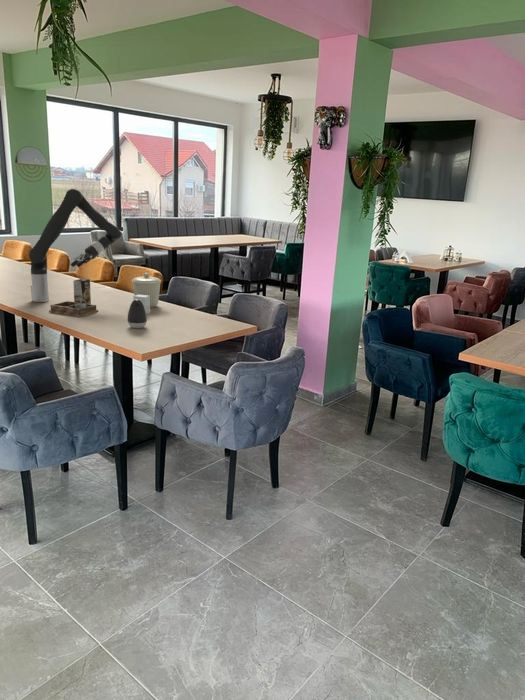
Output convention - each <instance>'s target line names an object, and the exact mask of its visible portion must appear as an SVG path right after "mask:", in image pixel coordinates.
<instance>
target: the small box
mask: <svg viewBox="0 0 525 700" xmlns="http://www.w3.org/2000/svg"><path fill="white" fill-rule="evenodd" d="M136 299H138V300H140V301H141V302H142V303H143V305H144V307H145V311H146V315H149V314H151V308H150V296H148V295H139V294H138V295H135V296H134V295H133V300H136ZM133 300H132V301H133Z"/></svg>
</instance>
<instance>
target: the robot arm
mask: <svg viewBox="0 0 525 700" xmlns="http://www.w3.org/2000/svg"><path fill="white" fill-rule="evenodd" d="M75 208H78V209H80V211H82V212H83V213H84V214H85V215H86V216H87V217H88V218H89V220H90V221H91V222H93V224H94V225H95V226H96V227H97V228H99V229H100V230H101V231H105V232H106V233H105V234H103V235H102V236H101V237H100V238H98V239H97V240H96V241H94V242H93V243H91V244H90V245H89V246H87V247H86V248H84V252H85V253H81V254H79V255H78V256H77V257H75V258H74V260H73V262H71V263H70V266H71V267H72V268H74V267H77V268H81V267H82V266H83V265H84V264H87V263H89V262H90V261H91V260H94V259H96V258H97V257H98V256H99V255H101V254H102V253H103V252H104V251H105V250H107V248H109V246H111V245H112V244H114V243H115V242H116V241H117V240H119V239H120V238H121V237H122V232H121V230H120V229H119V228H118V227H117V226H116V225H114V224H113V223H112V222H110V221H109V220H107V219H106V217H105V216H104V215H102V213H101V212H100V211H98V210H97V209H95V208H94V206H92V204H91V203H90V202H89V201H88V200H87V199H86V198H85V196H84V195H83V194H82V192H81V191H80V190H79V189H77V188H70V189H68V190H66V193H65V196H64V197H63V200H62V202H61V203H60V205H59V206H58V208H57V209H56V210H55V212H54V213H53V214H52V216H51V217H50V219H49V220H48V222H47V224H46V225H45V226H44V229H43V231H42V233H41V235H40V237H39V239H38V240H37V242H36V243H35V245H34V246H33V247H32V248H31V249H29V250H30V251H29V253H28V257H29V260H30V276H31V285H30V292H31V293H30V294H31V301H32V302H35V303H45V302H46V303H47V302H49V301H50V296H49V281H48V255H47V253H48V251H49V249H50V248H51V246H52V245H53V243H55V241H56V240H57V239H58V238H59V236H60V235H61V233H62V232H63V230H65V227H66V225H67V223H68V222H69V220H70V219H69V218H70V216H71V215H72V213H73V211H74V210H75Z"/></svg>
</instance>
